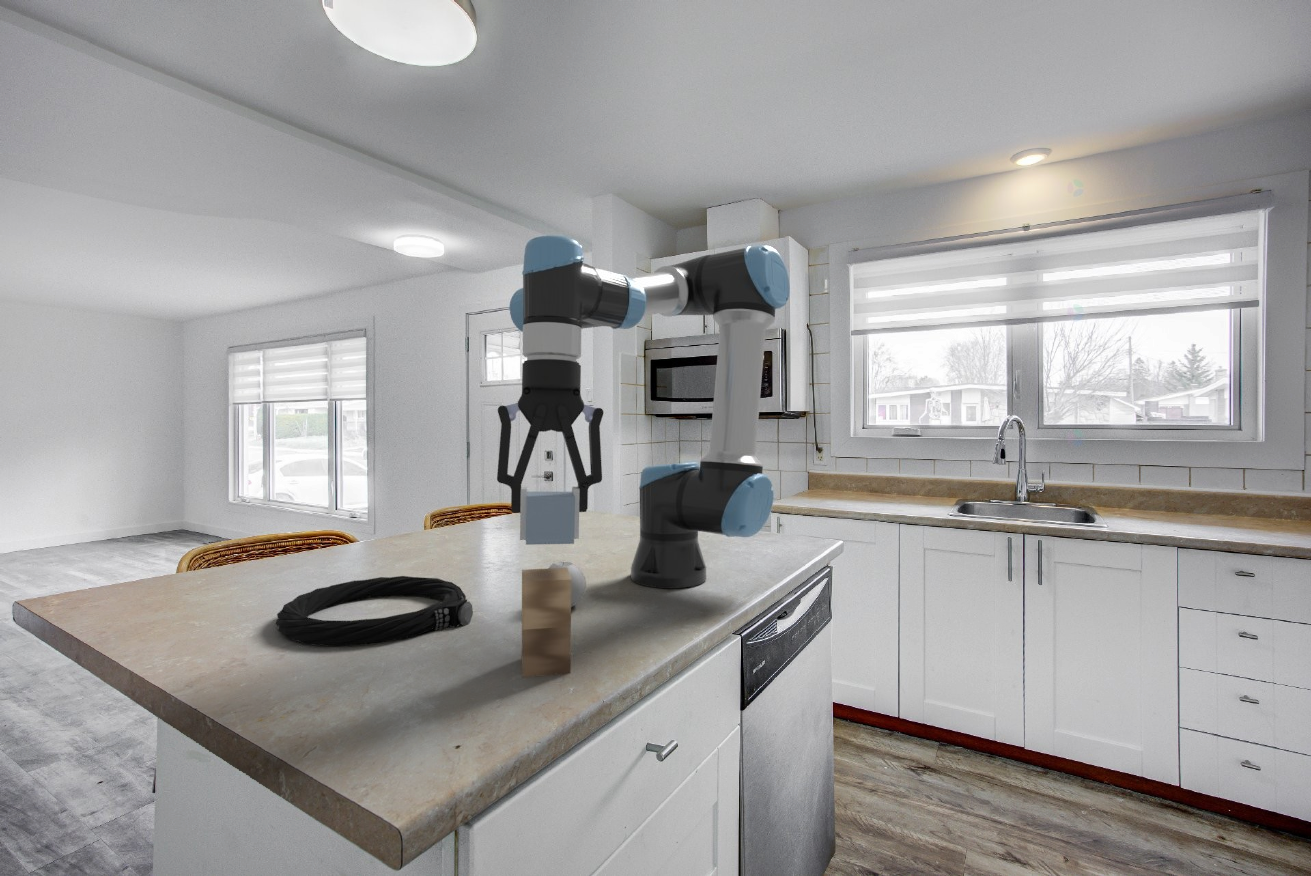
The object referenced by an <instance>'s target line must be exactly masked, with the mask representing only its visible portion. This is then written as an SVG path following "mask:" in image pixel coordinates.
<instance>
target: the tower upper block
mask: <svg viewBox="0 0 1311 876" xmlns="http://www.w3.org/2000/svg"><path fill="white" fill-rule="evenodd" d="M548 568H549V567H548ZM548 568H535V569H534V568H533V569H532V568H531V569H530V568H529V569H522V570H521V631H522V630H526V629H541V628H556V627H570V626H571V627H572V607H571V578H570V575H569V571H568V568H549V569H548Z"/></svg>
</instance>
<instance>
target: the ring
mask: <svg viewBox="0 0 1311 876" xmlns="http://www.w3.org/2000/svg"><path fill="white" fill-rule="evenodd" d="M398 596H399V597H423V598H427V599H430V600H436V601H437V600H439V601H440V602H437V603H434V604H432V605H430V606H428V607H425V608H422V609H419V610H416V611H411V612H406V613H400V614H396V615H391V616H386V617H378V618H377V617H376V618H365V619H353V620H327V619H325V620H323V619H318V618H312V617H308V616H310V615H313V614H315V613H317V612H319V611H320V610H324V609H327V608H331V607H335V606H337V605H340V604H344V603H350V602H355V601H362V600H366V599H373V598H387V597H398ZM473 614H474V609H473V604H472V603H471V601H468V599H467V596H466V594H465V593H464V591H463V590H462V589H461V587H460V586H458V585H457V584H455V583H453V582H452V581H447V580H443V579H441V578H437V577H436V578H434V577H423V576H422V577H421V576H420V577H419V576H416V577H415V576H407V575H398V576H392V577H390V576H389V577H386V576H385V577H383V576H381V577H374V578H369V579H362V580H352V581H347V582H342V583H341V582H340V583H337V584H332V585H330V586H326V587H319V588H316V589H314V590H311V591H309V592H306V593H303V594H299V595H298V596H296V597H295V598H293V599H292V600H291V601H289V602H287V603H285V604H284V605H283V607H282V609H280V611H279V612H278V613H277V614H276V616H277V619H276V621H275V623H274V624H275V625H276V626H278V628H277V630H278V632H280V633H281V634H282V635H284V636H285V638H286V639H288V640H291V641H296V642H300V643H301V644H305V645H308V646H326V647H346V646H347V647H348V646H356V645H357V646H363V645H364V646H365V645H375V644H381V643H387V642H392V641H396V640H397V641H398V640H403V639H408V638H412V637H415V636H420V635H421V634H423V633H427V632H430V631H432V630H433V631H438V630H439V631H441V630H442V629H446V628H448V626H449V627H453V628H457V627H459V626H463V627H464V626H466V625H467V626H468V625H469V624H470V622H471V620H472V619H473Z"/></svg>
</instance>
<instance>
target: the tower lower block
mask: <svg viewBox="0 0 1311 876" xmlns="http://www.w3.org/2000/svg"><path fill="white" fill-rule="evenodd" d="M571 627H572V625H571V626H570V627H556V628H541V629H526V630H522V629H521V676H522V677H521V678H532V677H541V676H554V675H555V676H556V675H566V674H568V675H569V674H572V673H571V670H572V668H571V667H572V666H571V665H572V659H571V657H572V652H571V651H572V643H571V641H572V633H571V632H572V628H571Z"/></svg>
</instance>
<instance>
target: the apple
mask: <svg viewBox="0 0 1311 876" xmlns="http://www.w3.org/2000/svg"><path fill="white" fill-rule="evenodd" d="M549 568H568V571H569V575H570V578H571V608H572V607H574V606H575V605H577V603H579V601H580V600H581V599H582V598H583V596H584V595H585V593H586V589H587V579H586V576H585V575H584V572H583V570H582V569H581V567H579V565H577V564H576V563H573V562H572V561H565V560H562V561H559V562H558V563H555V562H554V563H552V564H550V566H549V567H548V568H547V569H549Z"/></svg>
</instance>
